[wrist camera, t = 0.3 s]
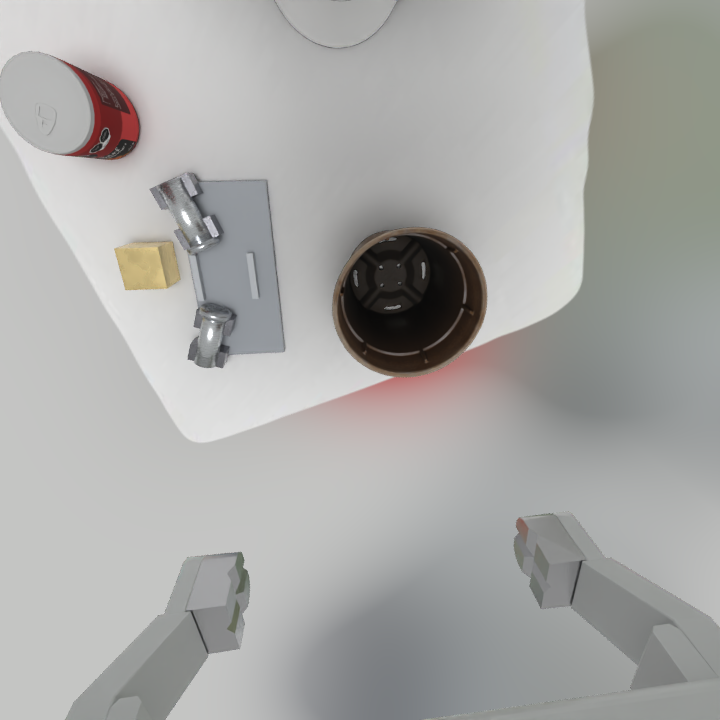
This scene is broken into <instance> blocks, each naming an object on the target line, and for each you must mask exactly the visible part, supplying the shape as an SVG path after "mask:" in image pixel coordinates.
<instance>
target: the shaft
mask: <svg viewBox="0 0 720 720" xmlns="http://www.w3.org/2000/svg"><path fill="white" fill-rule="evenodd" d="M150 191H151V192H152V194H153V196H154V198H155V199H156V201H157V203H158V205H159V206H160V208H161V210H163V209H169V211H170V212H171V214H172V216H173V218H174V219H175V221H176V223H177V225H178V227H179V228H180V229H178V230H175V231H174V233H175V234H176V236H177V238H178V240H179V241H180V243H181V245H182V247H183V248H184V250H186V249H187V251H188V253H189V255H193V254H196V253H198V252H200V251H203V250H205V249H207V248H210V247H212V246H214V245H216V244H218V243H220V241H219V239H218V237H217V236H219V235H221V234H223V233H224V231H223V229H222V227H221V226H220V224H219V222H218V220H217V218H216V216H215V214H214V215H210V216H208V217H205V218H203V217H202V216H201V214H200V212H199V210H198V208H197V206H196V204H195V202H194V200H193V199H192V198H194V197H196V196H199V195H201V194H203V191H202V189H201V187H200V185H199V183H198V181H197V179H196V177H195V175H194V173H185V174H183V175H180V176H178V177H176V178H174V179H171V180H169V181H167V182H165V183H162V184H160V185H158V186H156V187H153V188H151V189H150Z"/></svg>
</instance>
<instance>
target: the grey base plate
mask: <svg viewBox="0 0 720 720" xmlns="http://www.w3.org/2000/svg"><path fill="white" fill-rule="evenodd" d="M198 183H199V185H200V187H201V189H202V191H203V194H201V195H199V196H196V197H194V198H192V199H193V200H194V202H195V204H196V206H197V208H198V210H199V212H200V214H201V216H202V217H203V218H205V217H208V216H210V215H214V214H215V216H216V218H217V220H218V222H219V224H220V226H221V227H222V229H223V231H224V233H223V234H221V235H219V236H217V237H218V239H219V241H220V243H218V244H216V245H214V246H212V247H210V248H207V249H205V250H203V251H200V252H198V253H196V254H193V255H189V253H188V257H189V262H190V267H191V273H192V278H193V283H194V288H195V293H196V298H197V303H198V308H199V307H200V306H201V305H203V304H215V305H219V306H222V307H225V308H227V309H229V310H230V311H231V312H232V314H236V315H237V318H236V322H235V326H234V330H233V332H232V334H231V335H230V337H229V336H226V335H223V338H222V343H221V344H223V345H226V346H230V348H229V353H228V355H234V354H254V353H274V352H284V351H285V346H284V337H283V328H282V318H281V309H280V300H279V291H278V281H277V272H276V263H275V253H274V244H273V235H272V226H271V216H270V207H269V198H268V189H267V180H264V181H216V182H198ZM187 252H188V251H187Z"/></svg>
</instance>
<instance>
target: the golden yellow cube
mask: <svg viewBox="0 0 720 720" xmlns="http://www.w3.org/2000/svg"><path fill="white" fill-rule="evenodd" d="M114 250H115V253H116V257H117V260H118V264H119V268H120V271H121V275H122V279H123V282H124V286H125V290H142V289H167V288H169V287H170V286H172V285H173V284H175V283H176V282H178V281H179V280H180V275H179V270H178V266H177V261H176V256H175V252H174V247H173V242H139V243H130V244H127V245H124V246H121V247H118V248H115V249H114Z"/></svg>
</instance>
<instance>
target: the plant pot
mask: <svg viewBox="0 0 720 720" xmlns="http://www.w3.org/2000/svg"><path fill="white" fill-rule="evenodd" d="M391 237H394V238H397V240H396V241H389V242H383V243H379V242H381V241H383V240H389V238H391ZM422 262H425V265H426V276H425V279H424V280H423V278H422V266H421V263H422ZM397 264H401V268H397ZM381 265H382V266H383V267H384V268H383V270H379V266H381ZM354 270H357V271H358V274H357V277H358V285H359V287H358V288H357V287H356V286H355V283H354V277H353V272H354ZM398 282H402V285H401V286H398ZM382 283H383V284H384V287H383V288H381V287H380V284H382ZM396 305H401V308H399V309H394V310H384V308H385V307H390V306H396ZM486 308H487V286H486V281H485V277H484V274H483V271H482V268H481V266H480V264H479V262H478V261H477V259H476V258H475V256H474V255H473V253H472V252H471V251H470V250H469V249H468V248H467V247H466V246H465V245H464V244H463V243H462V242H460V241H459V240H458V239H456V238H454V237H453V236H451V235H449V234H447V233H445V232H442V231H439V230H436V229H431V228H424V227H409V228H401V229H396V230H388V231H382V232H378V233H375V234H373V235H371V236H369V237H368V238H366V239H365V240H364V241H362V242H361V243H360V244H359V246H358V247H357V248H356V249H355V251H354V252H353V254H352V256H351V258H350V259H349V261H348V262H347V263H346V265H345V266H344V268H343V270H342V272H341V274H340V276H339V278H338V281H337V283H336V286H335V290H334V295H333V303H332V311H333V320H334V325H335V329H336V331H337V334H338V336H339V338H340V340H341V342H342V344H343V345H344V347H345V348H346V350H347V351H348V352H349V353H350V354H351V355H352V357H353V358H355V359H356V360H357V361H358V362H359V363H361V364H362V365H363V366H365V367H367V368H369V369H371V370H373V371H375V372H378V373H380V374H384V375H387V376H393V377H416V376H421V375H425V374H428V373H431V372H434V371H437V370H439V369H441V368H443V367H445V366H447V365H448V364H450V363H451V362H453V361H454V360H455V359H457V358H458V357H459V356H460V355H461V354H462V353H463V352H464V351H465V350H466V349H467V348H468V347H469V345H470V344H471V343H472V342H473V340H474V339H475V337H476V335H477V334H478V332H479V330H480V328H481V326H482V323H483V320H484V317H485V313H486Z"/></svg>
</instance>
